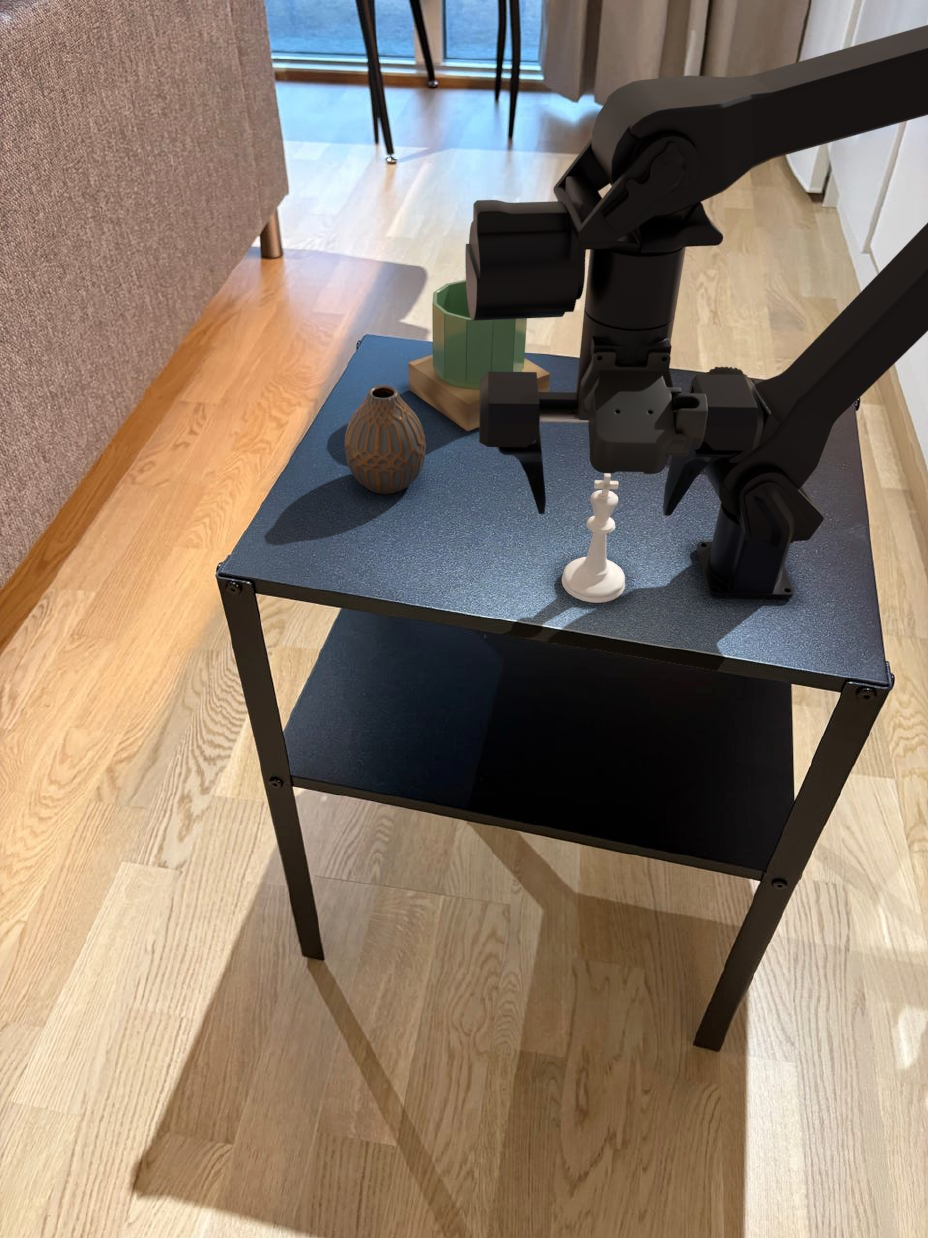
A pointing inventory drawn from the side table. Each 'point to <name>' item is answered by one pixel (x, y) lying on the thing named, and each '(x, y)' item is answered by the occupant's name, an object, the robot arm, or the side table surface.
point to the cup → (472, 340)
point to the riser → (456, 391)
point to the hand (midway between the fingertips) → (603, 511)
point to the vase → (385, 442)
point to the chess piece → (597, 553)
